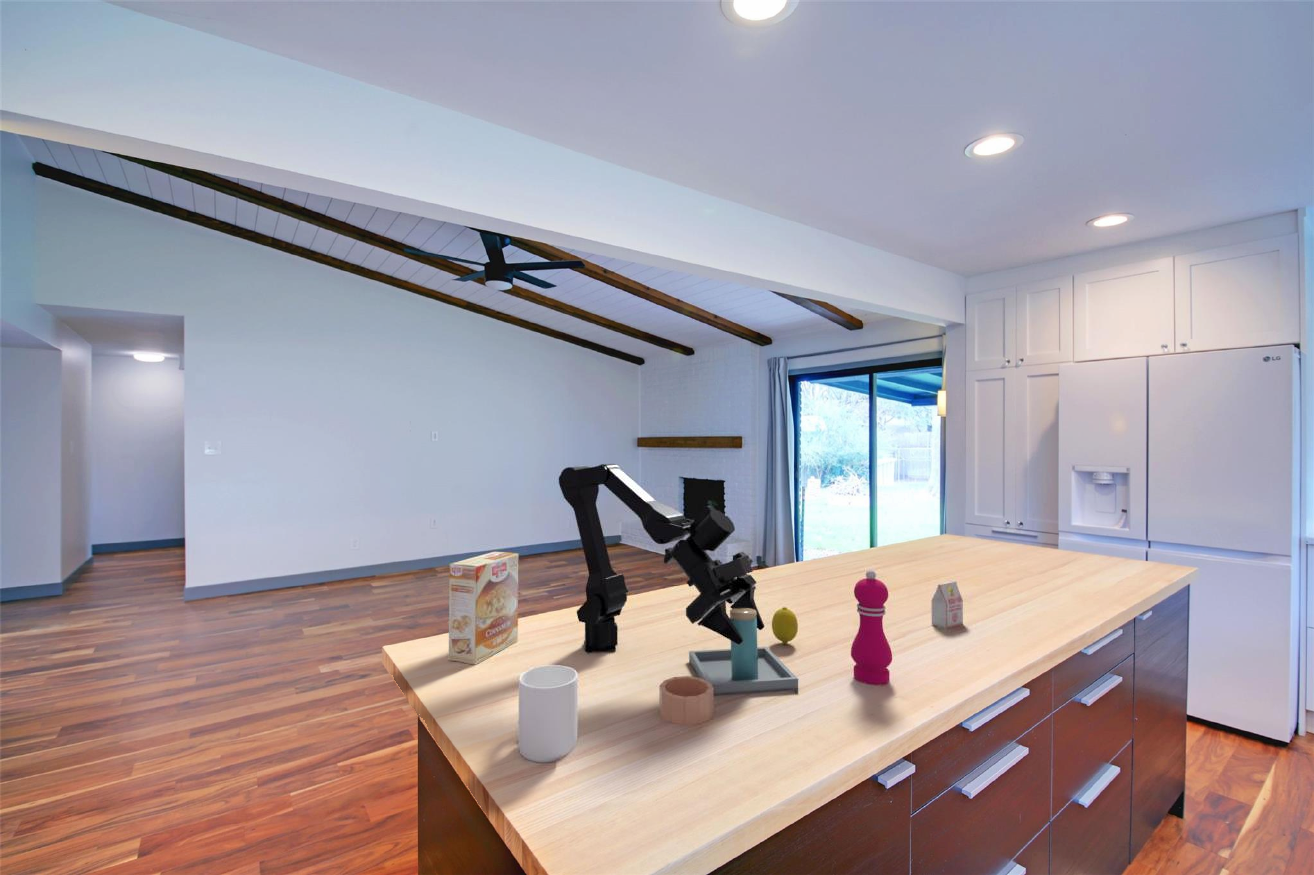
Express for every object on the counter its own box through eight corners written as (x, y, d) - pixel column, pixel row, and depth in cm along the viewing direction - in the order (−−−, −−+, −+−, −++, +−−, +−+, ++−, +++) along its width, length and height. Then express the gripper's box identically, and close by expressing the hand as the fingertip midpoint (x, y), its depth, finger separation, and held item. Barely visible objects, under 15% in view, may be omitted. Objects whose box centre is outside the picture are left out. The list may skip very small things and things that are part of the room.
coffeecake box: (476, 665, 112) (476, 566, 113) (446, 660, 115) (447, 563, 115) (519, 641, 126) (520, 552, 127) (492, 637, 129) (493, 550, 129)
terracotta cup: (664, 730, 87) (664, 700, 87) (656, 705, 95) (656, 678, 95) (718, 725, 88) (718, 696, 88) (705, 701, 97) (705, 674, 97)
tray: (709, 699, 97) (709, 684, 97) (689, 663, 113) (689, 651, 113) (798, 693, 100) (798, 678, 100) (766, 659, 116) (766, 646, 116)
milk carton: (931, 624, 138) (931, 583, 138) (948, 620, 142) (948, 579, 142) (946, 628, 135) (945, 586, 135) (962, 624, 139) (962, 582, 139)
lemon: (798, 649, 121) (798, 611, 122) (771, 647, 123) (771, 609, 123) (797, 640, 127) (797, 604, 127) (771, 638, 128) (771, 602, 128)
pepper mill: (891, 673, 109) (890, 567, 109) (893, 688, 102) (893, 575, 102) (851, 668, 111) (850, 565, 111) (850, 683, 104) (850, 572, 104)
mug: (498, 735, 85) (499, 665, 86) (549, 718, 90) (549, 653, 91) (534, 771, 76) (534, 693, 76) (588, 751, 81) (588, 677, 81)
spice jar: (745, 685, 100) (743, 616, 101) (726, 677, 104) (724, 610, 105) (764, 678, 103) (762, 611, 104) (745, 671, 107) (743, 606, 108)
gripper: (700, 546, 98) (760, 622, 92) (747, 533, 114) (800, 596, 108) (662, 586, 103) (717, 661, 96) (711, 567, 118) (761, 631, 112)
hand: (752, 635), depth 103 cm, fingers open, 9 cm apart
